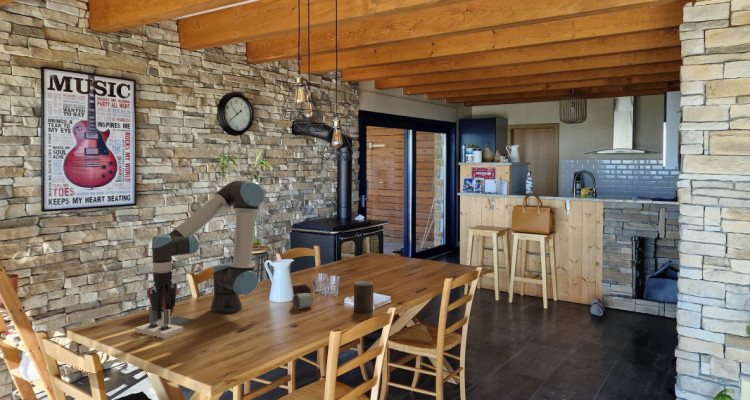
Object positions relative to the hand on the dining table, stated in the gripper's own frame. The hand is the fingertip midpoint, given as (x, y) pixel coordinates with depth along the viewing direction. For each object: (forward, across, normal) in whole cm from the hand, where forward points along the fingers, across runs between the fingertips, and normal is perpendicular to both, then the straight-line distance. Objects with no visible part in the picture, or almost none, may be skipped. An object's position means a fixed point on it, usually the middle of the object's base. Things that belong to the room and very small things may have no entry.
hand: (164, 324), depth 228 cm
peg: (+4, 0, 0) cm, 4 cm away
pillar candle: (+4, -68, +61) cm, 92 cm away
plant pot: (+4, -22, -26) cm, 34 cm away
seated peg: (+4, 0, -7) cm, 8 cm away
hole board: (+4, 0, -4) cm, 5 cm away
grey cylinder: (+4, -59, +30) cm, 66 cm away
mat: (+4, -13, -8) cm, 16 cm away
